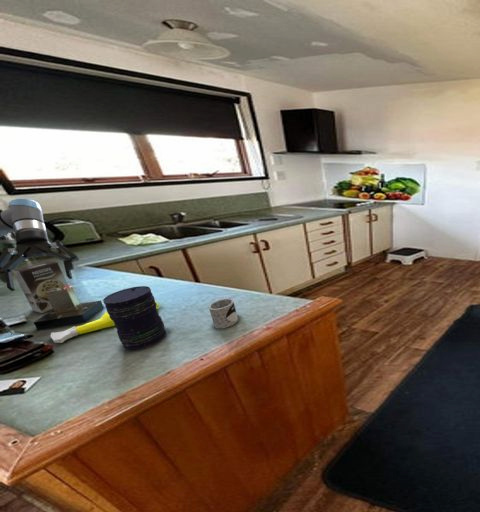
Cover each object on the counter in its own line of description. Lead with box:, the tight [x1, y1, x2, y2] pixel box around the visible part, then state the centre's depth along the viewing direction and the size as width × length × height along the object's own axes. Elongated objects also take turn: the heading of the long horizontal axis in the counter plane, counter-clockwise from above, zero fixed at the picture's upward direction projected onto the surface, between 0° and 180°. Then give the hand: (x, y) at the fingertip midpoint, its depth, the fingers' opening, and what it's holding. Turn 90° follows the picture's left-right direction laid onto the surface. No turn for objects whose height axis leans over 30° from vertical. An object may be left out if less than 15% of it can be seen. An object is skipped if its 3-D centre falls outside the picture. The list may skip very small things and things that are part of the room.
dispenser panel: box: [32, 300, 105, 331], centre depth 91 cm, size 12×10×3 cm
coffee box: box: [11, 260, 69, 314], centre depth 97 cm, size 9×6×16 cm
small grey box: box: [45, 285, 82, 314], centre depth 89 cm, size 6×2×8 cm, turn 109°
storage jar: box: [102, 285, 168, 352], centre depth 76 cm, size 10×10×15 cm
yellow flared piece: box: [50, 300, 160, 344], centre depth 88 cm, size 3×11×24 cm
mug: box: [208, 297, 239, 329], centre depth 86 cm, size 10×7×7 cm, turn 9°
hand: (41, 283), depth 97 cm, fingers open, 13 cm apart
